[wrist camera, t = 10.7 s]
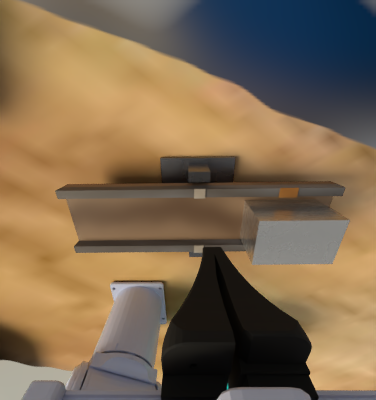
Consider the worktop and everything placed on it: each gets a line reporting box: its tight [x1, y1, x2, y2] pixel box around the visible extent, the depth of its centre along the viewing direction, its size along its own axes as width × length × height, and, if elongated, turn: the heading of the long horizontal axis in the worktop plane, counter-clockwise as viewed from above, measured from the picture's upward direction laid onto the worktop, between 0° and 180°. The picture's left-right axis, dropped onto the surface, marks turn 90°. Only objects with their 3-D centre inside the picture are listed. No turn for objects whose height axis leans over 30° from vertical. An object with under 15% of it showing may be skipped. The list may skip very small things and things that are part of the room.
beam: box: [55, 181, 345, 253], centre depth 19 cm, size 7×26×4 cm, turn 91°
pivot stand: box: [160, 156, 235, 257], centre depth 20 cm, size 11×16×4 cm
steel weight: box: [240, 199, 350, 265], centre depth 17 cm, size 4×7×4 cm, turn 91°
